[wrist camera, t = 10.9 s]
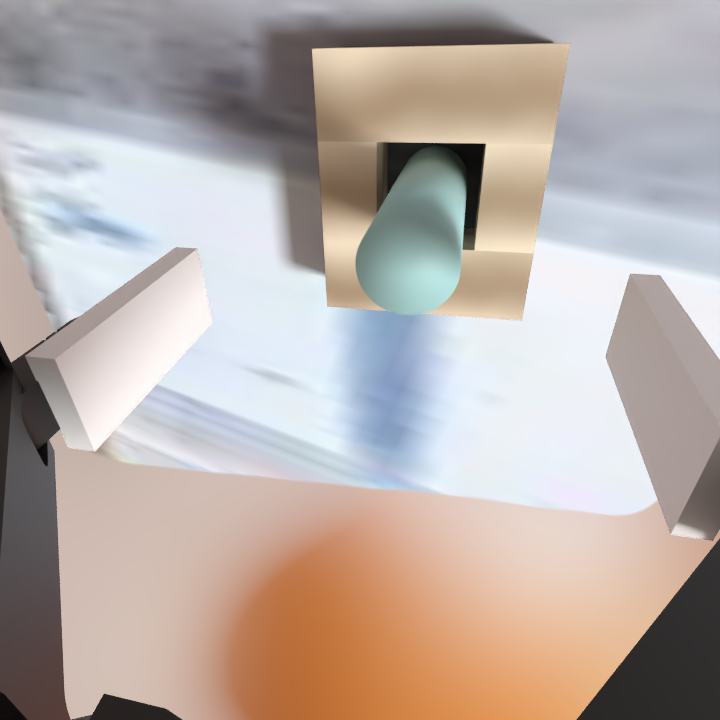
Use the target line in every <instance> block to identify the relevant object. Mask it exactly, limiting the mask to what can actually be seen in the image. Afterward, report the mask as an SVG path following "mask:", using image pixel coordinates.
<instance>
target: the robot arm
mask: <svg viewBox="0 0 720 720" xmlns="http://www.w3.org/2000/svg"><path fill="white" fill-rule="evenodd" d="M212 323H213V320H212V316H211V311H210V306H209V301H208V297H207V292H206V287H205V283H204V278H203V273H202V268H201V264H200V259H199V254H198V250H197V249H195V248H178V247H176V248H174V249H173V250H172V251H170V252H169V253H167V254H166V255H165V256H163V257H162V258H160V259H159V260H158V261H156V262H155V263H154V264H152V265H151V266H149V267H148V268H147V269H145V270H144V271H142V272H141V273H140V274H138V275H137V276H135V277H134V278H133V279H131V280H130V281H128V282H127V283H126V284H124V285H123V286H122V287H120V288H119V289H117V290H116V291H115V292H113V293H112V294H110V295H109V296H108V297H106V298H105V299H103V300H102V301H101V302H99V303H98V304H96V305H95V306H94V307H92V308H91V309H90V310H88V311H87V312H85V313H84V314H83V315H81V316H80V317H78V318H75V319H73V320H71V321H69V322H68V323H66V324H65V325H64V326H62V327H61V328H59V329H58V330H57V332H54V333H52V334H51V335H50V336H48V337H47V338H46V340H43V341H41V342H40V343H39V344H37V345H36V346H34V347H33V348H32V349H30V350H29V351H27V352H26V353H24V354H23V355H22V356H20V357H19V358H17V359H16V360H15V361H13V362H12V363H11V362H10V360H9V358H8V356H7V354H6V352H5V350H4V348H3V346H2V344H1V342H0V720H70V717H69V714H68V711H67V707H66V702H65V694H64V676H63V675H64V674H63V650H62V627H61V604H60V603H61V601H60V577H59V555H58V529H57V506H56V481H55V457H54V450H53V447H52V445H51V443H50V441H49V439H50V438H51V437H52V436H53V435H54V434H55V433H56V432H57V431H58V430H60V432H61V433H62V436H63V438H64V440H65V442H66V444H67V446H68V448H74V449H80V450H87V451H94V452H95V451H96V450H97V449H98V448H99V447H100V445H101V444H102V443H103V442H104V441H105V440H106V439H107V438H108V437H109V436H110V435H111V433H112V432H113V431H114V430H115V429H116V428H117V427H118V426H119V425H120V424H121V423H122V421H123V420H124V419H125V418H126V417H127V416H128V415H129V414H130V413H131V412H132V410H133V409H134V408H135V407H136V406H137V405H138V404H139V403H140V402H141V401H142V400H143V398H144V397H145V396H146V395H147V394H148V393H149V392H150V391H151V390H152V389H153V388H154V386H155V385H156V384H157V383H158V382H159V381H160V380H161V379H162V378H163V377H164V375H165V374H166V373H167V372H168V371H169V370H170V369H171V368H172V367H173V366H174V365H175V363H176V362H177V361H178V360H179V359H180V358H181V357H182V356H183V355H184V354H185V353H186V351H187V350H188V349H189V348H190V347H191V346H192V345H193V344H194V343H195V342H196V340H197V339H198V338H199V337H200V336H201V335H202V334H203V333H204V332H205V331H206V330H207V328H208V327H209V326H210V325H211V324H212ZM605 357H606V359H607V362H608V365H609V367H610V370H611V373H612V376H613V378H614V381H615V384H616V387H617V389H618V392H619V395H620V397H621V400H622V403H623V406H624V408H625V411H626V414H627V417H628V419H629V422H630V425H631V427H632V430H633V433H634V436H635V438H636V441H637V444H638V447H639V449H640V452H641V455H642V457H643V460H644V463H645V466H646V468H647V471H648V474H649V477H650V479H651V482H652V485H653V487H654V490H655V493H656V496H657V498H658V501H659V504H660V507H661V509H662V512H663V515H664V517H665V520H666V523H667V526H668V528H669V531H670V534H671V535H677V536H684V537H691V538H698V539H705V540H712V541H713V540H714V538H715V536H716V534H717V533H718V531H719V529H720V360H719V358H718V357H717V356H716V354H715V353H714V351H713V350H712V349H711V347H710V346H709V344H708V343H707V341H706V340H705V339H704V337H703V336H702V334H701V333H700V331H699V330H698V329H697V327H696V326H695V324H694V323H693V322H692V320H691V319H690V317H689V316H688V314H687V313H686V312H685V310H684V309H683V307H682V306H681V304H680V303H679V302H678V300H677V299H676V297H675V296H674V295H673V293H672V292H671V290H670V289H669V287H668V286H667V285H666V283H665V282H664V280H663V279H662V278H661V276H660V275H643V274H630V276H629V279H628V283H627V286H626V289H625V293H624V296H623V300H622V303H621V306H620V310H619V313H618V316H617V320H616V323H615V326H614V330H613V333H612V336H611V340H610V343H609V346H608V350H607V353H606V356H605ZM72 720H182V719H180V718H179V717H177V716H176V715H174V714H173V713H171V712H170V711H169V710H167V709H165V708H160V707H156V706H152V705H148V704H144V703H140V702H136V701H132V700H128V699H124V698H119V697H115V696H111V695H107V694H104V695H103V697H102V698H101V700H100V702H99V704H98V705H97V707H96V709H95V711H94V712H93V714H92V715H90V716H85V717H81V718H76V719H72ZM577 720H720V539H719V540H718V542H717V543H716V544H715V545H714V547H713V548H712V549H711V550H710V552H709V553H708V554H707V555H706V557H705V558H704V559H703V561H702V562H701V563H700V564H699V566H698V567H697V568H696V569H695V571H694V572H693V573H692V574H691V576H690V577H689V578H688V580H687V581H686V582H685V583H684V585H683V586H682V587H681V588H680V590H679V591H678V592H677V593H676V595H675V596H674V597H673V598H672V600H671V601H670V602H669V604H668V605H667V606H666V607H665V609H664V610H663V611H662V612H661V614H660V615H659V616H658V618H657V619H656V620H655V621H654V623H653V624H652V625H651V626H650V628H649V629H648V630H647V631H646V633H645V634H644V635H643V636H642V638H641V639H640V640H639V641H638V643H637V644H636V645H635V646H634V648H633V649H632V650H631V652H630V653H629V654H628V655H627V657H626V658H625V659H624V661H623V662H622V663H621V664H620V665H619V667H618V668H617V669H616V671H615V672H614V673H613V675H612V676H611V677H610V678H609V679H608V681H607V682H606V683H605V684H604V686H603V687H602V688H601V690H600V691H599V692H598V693H597V695H596V696H595V697H594V698H593V700H592V701H591V702H590V704H589V705H588V706H587V707H586V709H585V710H584V711H583V712H582V713H581V715H580V716H579V717H578V719H577Z"/></svg>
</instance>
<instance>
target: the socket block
mask: <svg viewBox="0 0 720 720" xmlns="http://www.w3.org/2000/svg"><path fill="white" fill-rule="evenodd" d="M569 49H570V43H538V44H489V45H441V46H392V47H343V48H317V49H312V57H313V74H314V91H315V108H316V124H317V141H318V158H319V175H320V191H321V208H322V225H323V242H324V259H325V275H326V292H327V306H328V307H342V308H356V309H369V310H383V311H387V310H385V309H383V308H381V307H380V306H378V305H377V304H375V303H374V302H373V301H372V300H371V299H370V298H369V297H368V296H367V295H366V293H365V292H364V291H363V289H362V287H361V285H360V283H359V281H358V278H357V274H356V267H355V261H356V254H357V250H358V247H359V245H360V242H361V240H362V239H363V237H364V235H365V233H366V232H367V230H368V228H369V227H370V225H371V223H372V221H373V220H374V218H375V216H376V214H377V213H378V211H379V209H380V207H381V206H382V204H383V202H384V201H385V199H386V197H387V171H388V142H406V143H480V144H484V147H483V157H482V166H481V175H480V185H479V194H478V204H477V213H476V222H475V228H464V233H463V247H462V261H461V273H460V278H459V281H458V284H457V286H456V288H455V290H454V292H453V293H452V295H451V296H450V297H449V298H448V299H447V300H446V301H445V302H444V303H443V304H442V305H440V306H439V307H437V308H435V309H433V310H432V311H429V312H426V313H424V314H438V315H451V316H465V317H479V318H492V319H506V320H520V321H522V316H523V310H524V305H525V299H526V293H527V288H528V282H529V276H530V271H531V265H532V259H533V253H534V248H535V242H536V236H537V231H538V225H539V219H540V214H541V208H542V202H543V197H544V191H545V185H546V180H547V174H548V168H549V162H550V157H551V151H552V145H553V140H554V134H555V128H556V123H557V117H558V111H559V106H560V100H561V94H562V88H563V83H564V77H565V71H566V66H567V60H568V54H569Z"/></svg>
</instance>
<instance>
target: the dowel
mask: <svg viewBox="0 0 720 720" xmlns="http://www.w3.org/2000/svg"><path fill="white" fill-rule="evenodd" d="M466 191H467V172H466V168H465V165H464V163H463V161H462V160H461V158H460V157H459V156H458V155H457V154H456V153H455V152H453V151H452V150H450V149H448V148H445V147H441V146H430V147H426V148H423V149H421V150H419V151H417V152H416V153H414V154H413V155H412V156H411V157H410V158H409V159H408V161H407V162H406V164H405V166H404V168H403V169H402V171H401V173H400V174H399V176H398V178H397V180H396V181H395V183H394V185H393V187H392V188H391V190H390V192H389V194H388V195H387V197H386V199H385V201H384V202H383V204H382V206H381V207H380V209H379V211H378V213H377V214H376V216H375V218H374V220H373V221H372V223H371V225H370V227H369V228H368V230H367V232H366V233H365V235H364V237H363V239H362V240H361V242H360V245H359V247H358V250H357V254H356V261H355V267H356V274H357V278H358V281H359V283H360V285H361V287H362V289H363V291H364V292H365V293H366V295H367V296H368V297H369V298H370V299H371V300H372V301H373V302H374V303H375V304H377V305H378V306H380V307H381V308H383V309H385V310H387V311H390V312H393V313H397V314H402V315H417V314H422V313H426V312H429V311H432V310H433V309H435V308H437V307H439V306H440V305H442V304H443V303H444V302H445V301H446V300H447V299H448V298H449V297H450V296H451V295H452V293H453V292H454V290H455V288H456V286H457V284H458V281H459V278H460V273H461V261H462V247H463V233H464V219H465V205H466Z"/></svg>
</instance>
